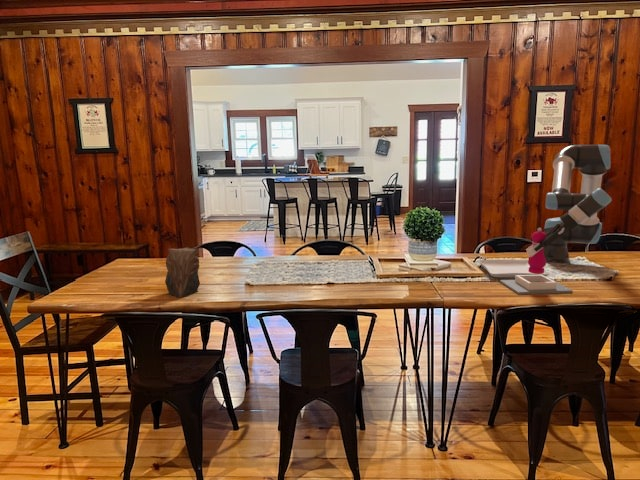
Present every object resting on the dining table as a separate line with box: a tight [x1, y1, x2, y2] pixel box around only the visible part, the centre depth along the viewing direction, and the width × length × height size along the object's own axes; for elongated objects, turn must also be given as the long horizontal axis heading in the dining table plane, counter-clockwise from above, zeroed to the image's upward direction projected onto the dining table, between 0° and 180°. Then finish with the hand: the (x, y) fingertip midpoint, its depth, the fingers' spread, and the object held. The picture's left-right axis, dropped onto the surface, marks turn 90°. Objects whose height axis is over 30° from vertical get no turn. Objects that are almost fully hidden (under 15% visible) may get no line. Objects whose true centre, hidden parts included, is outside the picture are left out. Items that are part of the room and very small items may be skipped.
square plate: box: [477, 259, 550, 279], centre depth 230 cm, size 27×27×4 cm
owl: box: [164, 246, 201, 299], centre depth 203 cm, size 13×13×20 cm
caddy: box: [499, 275, 573, 295], centre depth 206 cm, size 18×24×4 cm
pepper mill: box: [527, 227, 547, 274], centre depth 202 cm, size 7×7×20 cm
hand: (528, 253), depth 204 cm, fingers closed on pepper mill, 5 cm apart
